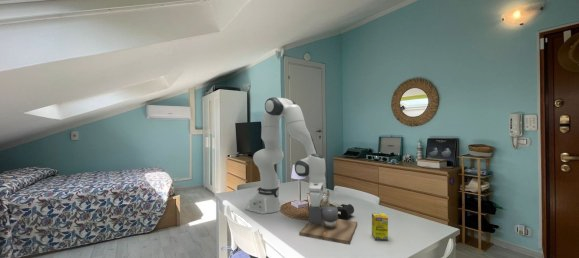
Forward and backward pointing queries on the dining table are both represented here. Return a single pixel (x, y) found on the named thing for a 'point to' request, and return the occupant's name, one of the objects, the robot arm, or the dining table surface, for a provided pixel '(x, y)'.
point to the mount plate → (331, 230)
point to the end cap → (345, 211)
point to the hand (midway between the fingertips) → (317, 209)
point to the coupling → (322, 214)
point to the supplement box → (380, 226)
